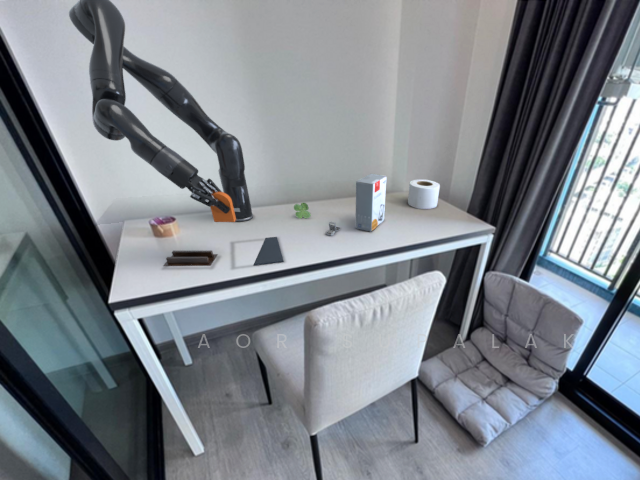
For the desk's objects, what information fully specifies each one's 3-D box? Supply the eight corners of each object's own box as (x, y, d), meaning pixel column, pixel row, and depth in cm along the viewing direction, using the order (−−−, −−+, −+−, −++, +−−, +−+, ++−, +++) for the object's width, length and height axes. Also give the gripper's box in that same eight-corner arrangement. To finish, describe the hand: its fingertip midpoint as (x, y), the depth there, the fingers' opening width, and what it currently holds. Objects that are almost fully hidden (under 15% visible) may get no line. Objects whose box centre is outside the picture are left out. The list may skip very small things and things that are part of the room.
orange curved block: (214, 222, 103) (206, 193, 98) (216, 219, 105) (209, 191, 100) (234, 222, 104) (227, 194, 99) (236, 219, 106) (229, 191, 101)
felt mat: (231, 242, 120) (231, 241, 120) (277, 238, 126) (276, 236, 125) (232, 268, 105) (232, 266, 105) (283, 261, 111) (283, 260, 111)
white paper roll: (422, 211, 162) (425, 189, 156) (401, 202, 171) (403, 181, 165) (442, 205, 171) (446, 185, 165) (422, 197, 180) (424, 177, 174)
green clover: (304, 225, 150) (304, 222, 143) (290, 213, 147) (289, 210, 141) (314, 213, 151) (315, 210, 144) (300, 201, 148) (300, 198, 142)
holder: (163, 268, 102) (160, 260, 101) (174, 256, 109) (171, 248, 107) (211, 268, 104) (208, 260, 103) (218, 256, 111) (216, 248, 109)
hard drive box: (371, 232, 136) (372, 184, 125) (355, 229, 138) (354, 181, 127) (384, 220, 149) (386, 175, 137) (369, 217, 150) (370, 172, 139)
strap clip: (331, 236, 131) (331, 226, 128) (324, 235, 131) (324, 225, 129) (340, 228, 137) (340, 219, 135) (333, 227, 138) (333, 218, 135)
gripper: (177, 171, 100) (229, 209, 109) (157, 184, 89) (216, 226, 98) (191, 153, 98) (242, 194, 107) (171, 164, 87) (230, 209, 96)
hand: (229, 209), depth 103 cm, fingers closed on orange curved block, 2 cm apart
